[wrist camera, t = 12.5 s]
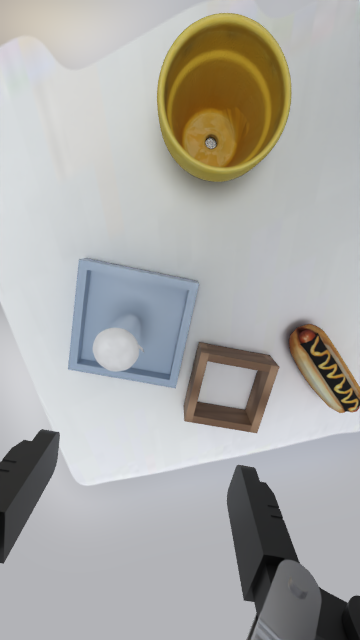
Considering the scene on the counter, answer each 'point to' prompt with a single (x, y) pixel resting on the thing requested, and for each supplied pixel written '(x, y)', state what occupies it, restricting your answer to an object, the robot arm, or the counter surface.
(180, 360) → the tray
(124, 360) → the milkshake
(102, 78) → the counter surface
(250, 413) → the holder
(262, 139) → the plant pot
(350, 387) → the hot dog
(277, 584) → the robot arm
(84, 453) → the counter surface
